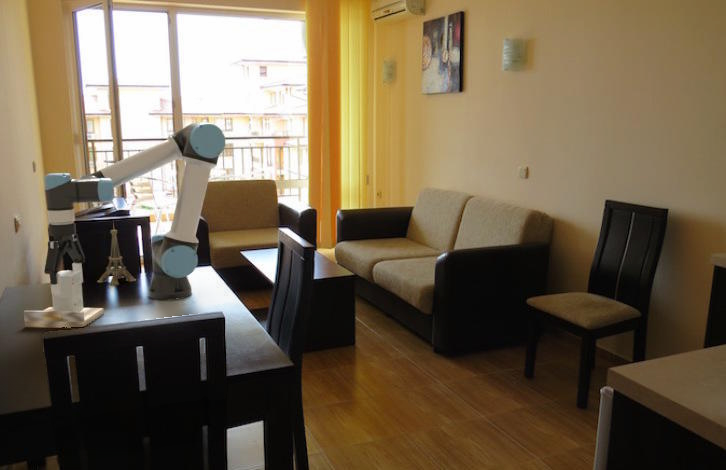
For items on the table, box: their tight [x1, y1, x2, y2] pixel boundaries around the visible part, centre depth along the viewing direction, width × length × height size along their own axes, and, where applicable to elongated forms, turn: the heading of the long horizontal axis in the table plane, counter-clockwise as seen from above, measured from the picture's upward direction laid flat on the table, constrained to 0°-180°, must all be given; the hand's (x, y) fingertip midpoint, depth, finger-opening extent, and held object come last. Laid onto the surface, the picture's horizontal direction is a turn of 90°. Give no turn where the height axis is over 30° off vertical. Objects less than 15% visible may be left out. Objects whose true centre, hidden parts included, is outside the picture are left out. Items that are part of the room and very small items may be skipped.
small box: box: [51, 269, 84, 311], centre depth 184 cm, size 8×6×13 cm
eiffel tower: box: [96, 221, 137, 287], centre depth 230 cm, size 11×11×25 cm
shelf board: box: [23, 306, 105, 329], centre depth 183 cm, size 18×14×5 cm
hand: (68, 288), depth 184 cm, fingers open, 13 cm apart
